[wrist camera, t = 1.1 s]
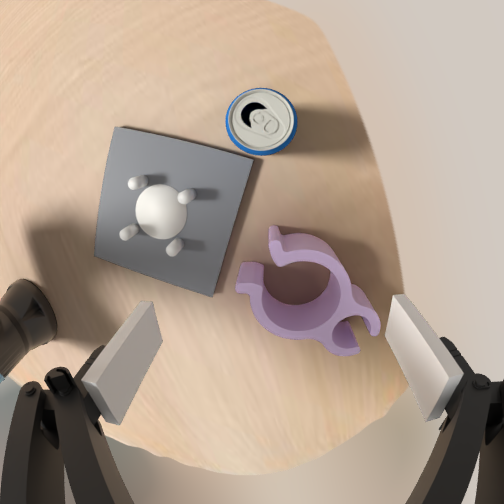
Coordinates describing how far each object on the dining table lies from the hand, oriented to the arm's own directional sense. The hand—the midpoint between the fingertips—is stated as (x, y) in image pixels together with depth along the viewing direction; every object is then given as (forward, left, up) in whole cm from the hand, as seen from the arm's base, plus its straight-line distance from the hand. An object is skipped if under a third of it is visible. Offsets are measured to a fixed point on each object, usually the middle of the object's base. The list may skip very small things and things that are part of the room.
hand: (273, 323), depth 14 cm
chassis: (-14, -3, -24) cm, 28 cm away
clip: (+9, -8, -25) cm, 27 cm away
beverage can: (-4, +11, -24) cm, 27 cm away
